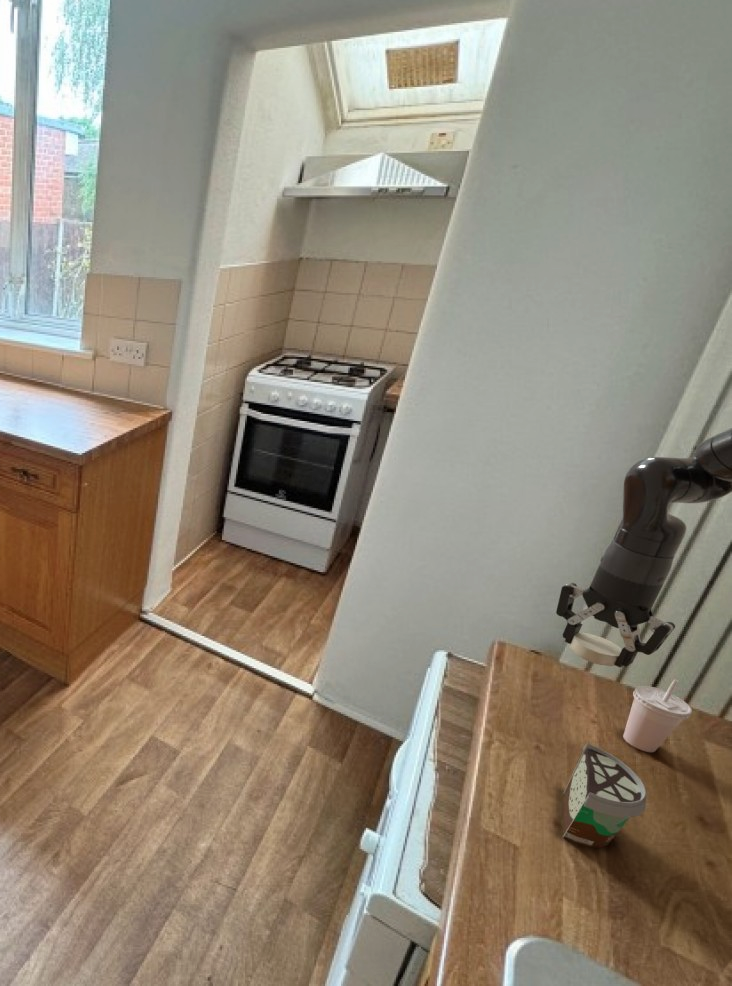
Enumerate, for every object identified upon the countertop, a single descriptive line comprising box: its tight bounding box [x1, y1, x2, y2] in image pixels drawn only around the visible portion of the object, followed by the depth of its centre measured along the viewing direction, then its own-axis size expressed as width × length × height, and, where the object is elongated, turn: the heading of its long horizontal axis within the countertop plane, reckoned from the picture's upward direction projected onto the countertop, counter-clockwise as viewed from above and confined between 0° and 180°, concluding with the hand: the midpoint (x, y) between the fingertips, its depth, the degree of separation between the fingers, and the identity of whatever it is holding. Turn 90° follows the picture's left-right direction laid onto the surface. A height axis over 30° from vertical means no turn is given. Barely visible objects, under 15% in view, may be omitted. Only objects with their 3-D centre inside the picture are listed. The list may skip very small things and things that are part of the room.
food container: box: [562, 742, 648, 848], centre depth 83 cm, size 12×6×10 cm, turn 137°
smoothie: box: [622, 678, 693, 753], centre depth 97 cm, size 6×6×14 cm
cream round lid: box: [569, 632, 623, 667], centre depth 104 cm, size 6×6×3 cm
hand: (593, 652), depth 105 cm, fingers closed on cream round lid, 6 cm apart
